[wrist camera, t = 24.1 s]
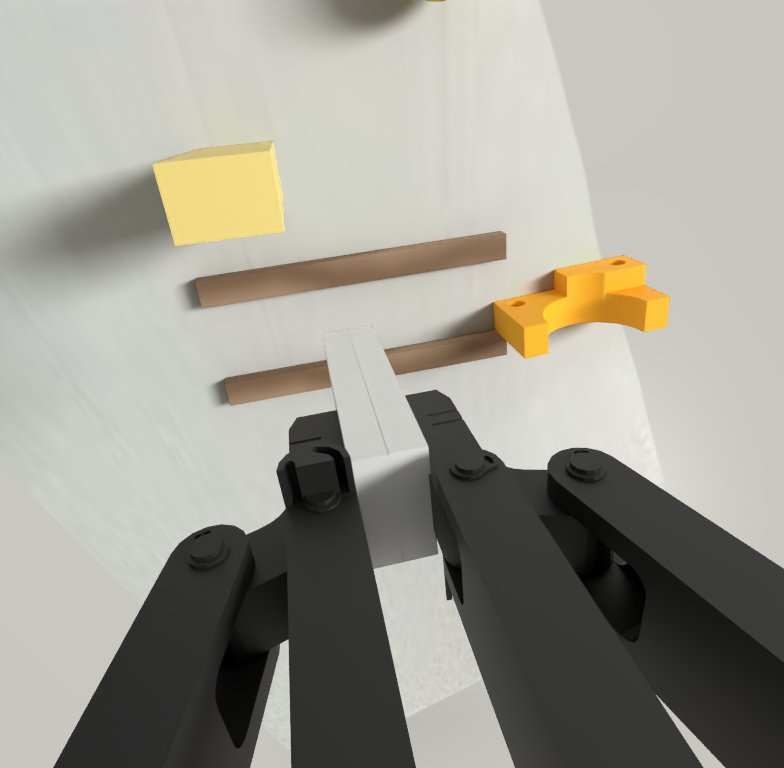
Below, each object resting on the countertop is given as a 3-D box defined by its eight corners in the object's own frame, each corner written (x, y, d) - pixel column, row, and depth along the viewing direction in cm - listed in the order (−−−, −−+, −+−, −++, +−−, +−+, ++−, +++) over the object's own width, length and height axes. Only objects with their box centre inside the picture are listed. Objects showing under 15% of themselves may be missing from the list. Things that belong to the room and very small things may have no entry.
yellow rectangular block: (198, 148, 35) (151, 163, 22) (273, 140, 36) (269, 150, 23) (212, 202, 37) (175, 246, 24) (282, 193, 38) (284, 231, 24)
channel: (196, 278, 39) (194, 282, 38) (500, 231, 42) (506, 233, 41) (231, 399, 44) (230, 405, 43) (501, 349, 47) (506, 354, 46)
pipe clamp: (623, 255, 45) (672, 274, 40) (620, 302, 47) (666, 327, 42) (492, 281, 44) (523, 306, 38) (494, 329, 46) (524, 358, 40)
